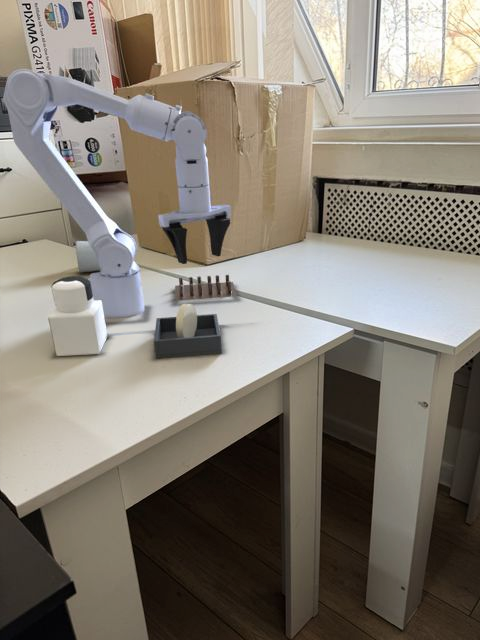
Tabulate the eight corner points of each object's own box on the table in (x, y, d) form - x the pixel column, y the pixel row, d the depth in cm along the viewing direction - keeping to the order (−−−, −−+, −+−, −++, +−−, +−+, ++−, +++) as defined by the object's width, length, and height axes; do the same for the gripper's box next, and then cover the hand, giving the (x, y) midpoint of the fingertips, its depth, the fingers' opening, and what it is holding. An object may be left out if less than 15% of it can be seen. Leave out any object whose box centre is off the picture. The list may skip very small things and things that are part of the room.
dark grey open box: (156, 358, 82) (153, 341, 81) (158, 334, 91) (156, 318, 90) (221, 353, 83) (220, 336, 82) (217, 329, 93) (216, 313, 91)
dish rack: (175, 304, 105) (173, 289, 104) (175, 289, 114) (174, 275, 113) (237, 300, 107) (236, 285, 105) (233, 286, 116) (232, 271, 114)
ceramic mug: (113, 272, 127) (109, 242, 123) (79, 275, 125) (74, 245, 121) (112, 262, 136) (107, 233, 132) (79, 265, 133) (74, 236, 130)
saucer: (177, 347, 84) (174, 311, 82) (192, 332, 90) (189, 298, 87) (184, 348, 84) (180, 311, 81) (198, 333, 90) (195, 298, 87)
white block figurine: (67, 339, 90) (53, 274, 85) (108, 337, 90) (97, 272, 85) (55, 357, 84) (40, 287, 78) (99, 354, 84) (87, 285, 79)
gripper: (214, 179, 99) (219, 248, 105) (147, 188, 91) (156, 262, 97) (235, 182, 94) (239, 254, 99) (166, 191, 86) (174, 269, 91)
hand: (199, 259), depth 98 cm, fingers open, 7 cm apart
